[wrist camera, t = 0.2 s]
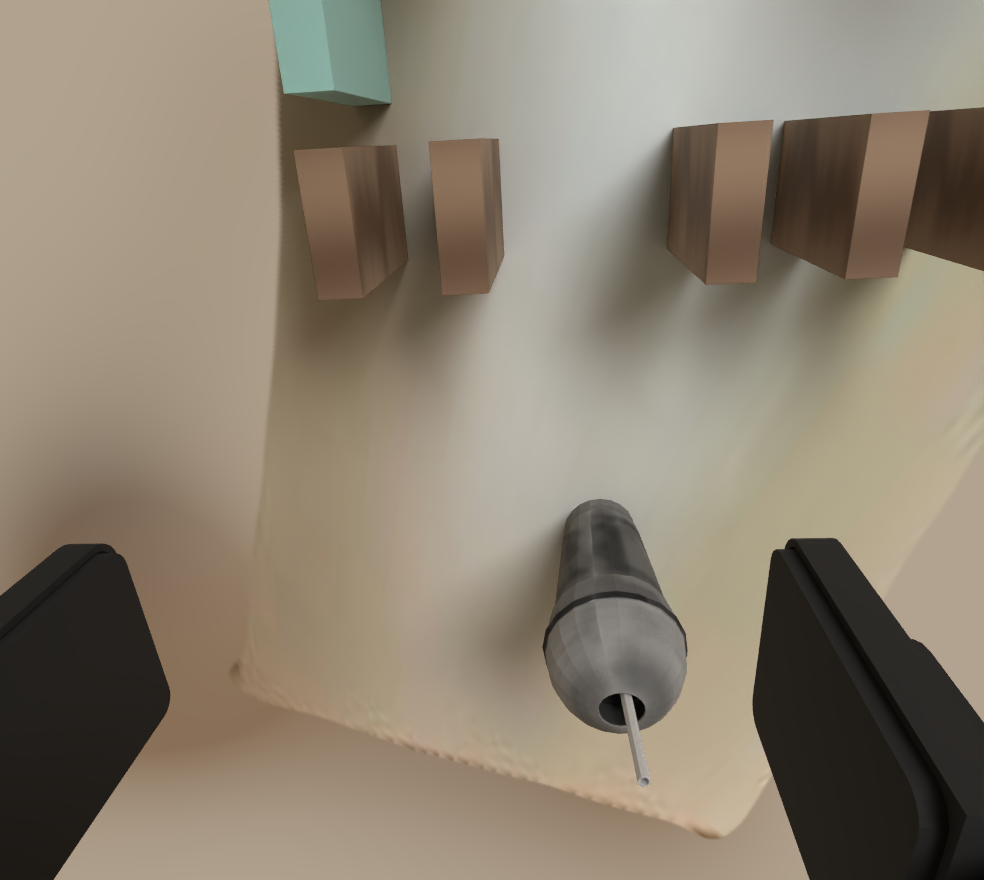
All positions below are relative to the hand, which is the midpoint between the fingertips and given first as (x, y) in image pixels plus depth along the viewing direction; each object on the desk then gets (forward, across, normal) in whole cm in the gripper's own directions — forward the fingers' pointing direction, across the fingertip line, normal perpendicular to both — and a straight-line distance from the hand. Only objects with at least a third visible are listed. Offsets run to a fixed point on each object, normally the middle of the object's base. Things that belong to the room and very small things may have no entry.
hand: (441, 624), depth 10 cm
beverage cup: (+31, -4, +17) cm, 36 cm away
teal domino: (+30, +8, -12) cm, 33 cm away
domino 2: (+30, +2, -4) cm, 31 cm away
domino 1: (+30, +8, -4) cm, 32 cm away
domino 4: (+30, -14, -4) cm, 34 cm away
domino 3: (+30, -9, -4) cm, 32 cm away
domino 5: (+30, -20, -4) cm, 37 cm away
